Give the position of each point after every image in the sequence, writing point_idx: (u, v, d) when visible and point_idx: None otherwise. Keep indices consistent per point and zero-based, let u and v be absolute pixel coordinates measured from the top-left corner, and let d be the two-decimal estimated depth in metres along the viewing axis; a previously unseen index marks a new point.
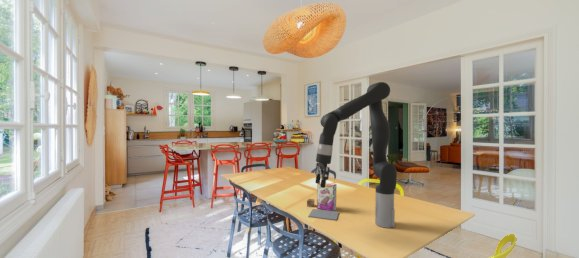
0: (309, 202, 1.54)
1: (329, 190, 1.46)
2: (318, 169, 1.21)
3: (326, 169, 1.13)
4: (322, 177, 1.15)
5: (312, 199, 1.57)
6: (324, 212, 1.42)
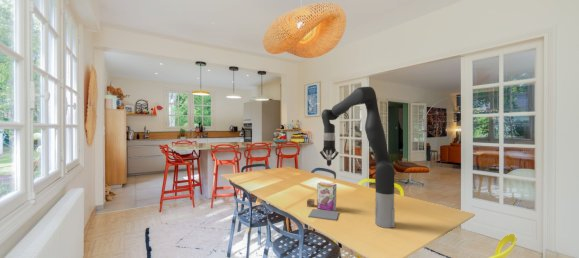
0: (309, 202, 1.54)
1: (329, 190, 1.46)
2: None
3: None
4: None
5: (312, 199, 1.57)
6: (324, 212, 1.42)
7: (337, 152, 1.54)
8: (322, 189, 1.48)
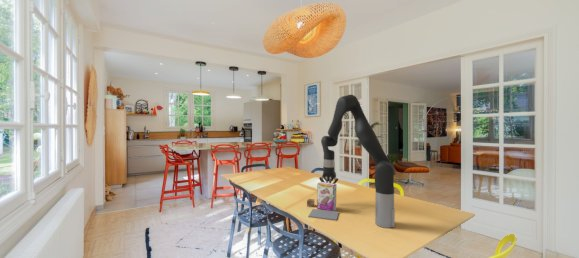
0: (309, 202, 1.54)
1: (329, 190, 1.46)
2: None
3: None
4: None
5: (312, 199, 1.57)
6: (324, 212, 1.42)
7: (337, 179, 1.55)
8: (322, 189, 1.48)
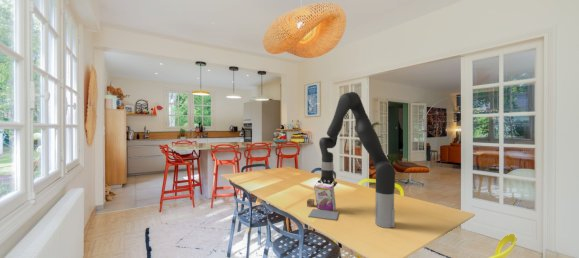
0: (309, 202, 1.54)
1: (327, 193, 1.42)
2: None
3: None
4: None
5: (312, 199, 1.57)
6: (324, 212, 1.42)
7: (335, 182, 1.47)
8: (319, 191, 1.45)
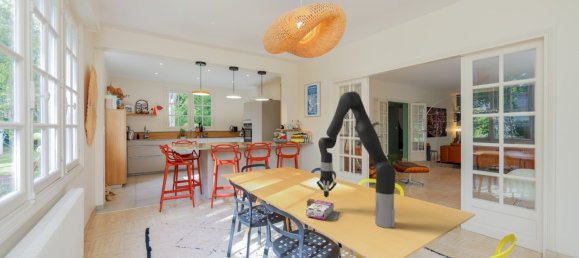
0: (309, 202, 1.54)
1: None
2: None
3: None
4: None
5: (312, 199, 1.57)
6: None
7: (335, 183, 1.46)
8: None
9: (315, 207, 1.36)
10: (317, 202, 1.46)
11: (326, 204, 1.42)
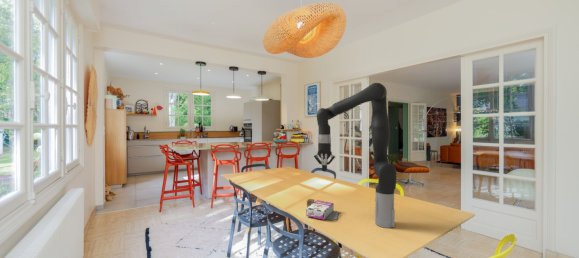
0: (309, 202, 1.54)
1: None
2: None
3: None
4: None
5: (312, 199, 1.57)
6: None
7: (333, 156, 1.38)
8: None
9: (315, 207, 1.36)
10: (317, 202, 1.46)
11: (326, 204, 1.42)
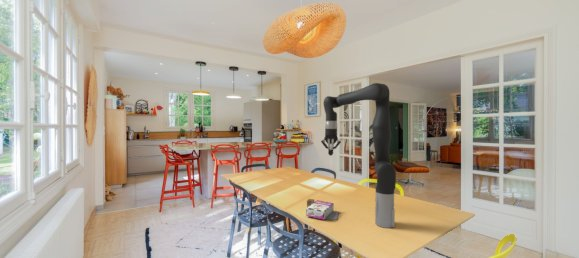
0: (309, 202, 1.54)
1: None
2: None
3: None
4: None
5: (312, 199, 1.57)
6: None
7: (339, 141, 1.48)
8: None
9: (315, 207, 1.36)
10: (317, 202, 1.46)
11: (326, 204, 1.42)
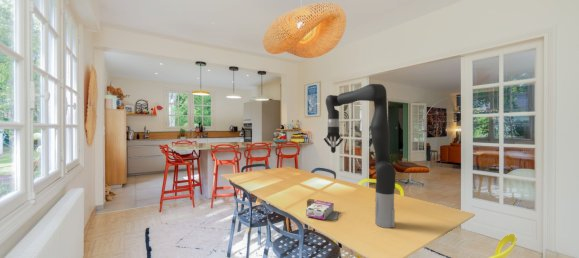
0: (309, 202, 1.54)
1: None
2: None
3: None
4: None
5: (312, 199, 1.57)
6: None
7: (341, 138, 1.52)
8: None
9: (315, 207, 1.36)
10: (317, 202, 1.46)
11: (326, 204, 1.42)
